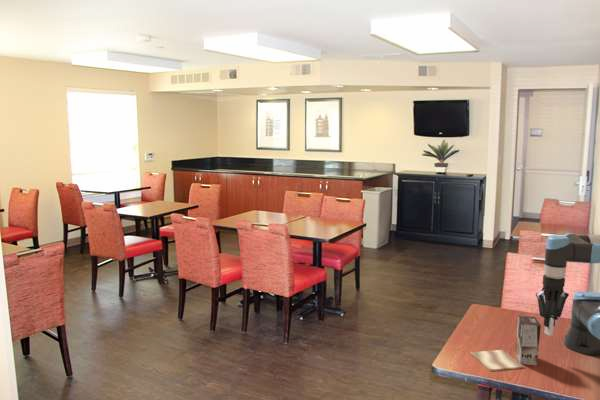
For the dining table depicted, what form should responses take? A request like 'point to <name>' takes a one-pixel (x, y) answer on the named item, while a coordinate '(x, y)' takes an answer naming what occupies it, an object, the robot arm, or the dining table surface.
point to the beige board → (496, 360)
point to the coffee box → (527, 340)
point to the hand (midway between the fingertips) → (548, 334)
